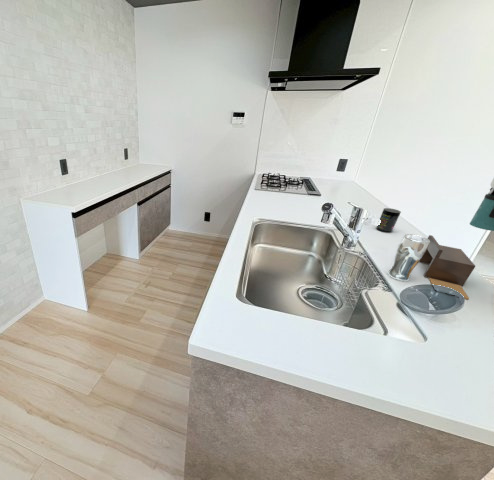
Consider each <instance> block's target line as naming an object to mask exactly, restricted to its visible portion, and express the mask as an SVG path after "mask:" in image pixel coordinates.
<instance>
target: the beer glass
mask: <svg viewBox="0 0 494 480" xmlns="http://www.w3.org/2000/svg"><path fill="white" fill-rule="evenodd" d="M429 243H430V240H428V237H427V238H426V237H424V236H423V235H422V236H421V235H417V234H412V233H407V234H405V233H404V235H403V236H402V239H401V240H400V242H399V243H398V246H397V248H396V252H395V256H394V260H393V264H392V266H391V267H390V269H389V270H388V271H387V275H388V276H389V277H391V278H392V279H394V280H396V281H401V282H409V281H410V279H411V275H412V273H413V271H414V269H415V268H416V266H417V265H418V264H419V263H421V262H420V260H421V259H422V258H423V256H424V254H425V252H426V250H427V248H428V245H429Z"/></svg>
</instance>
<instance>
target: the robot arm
mask: <svg viewBox="0 0 494 480" xmlns="http://www.w3.org/2000/svg"><path fill="white" fill-rule="evenodd" d="M487 194H494V177H493V178H492V180H491V182H490V188H489V191H488V193H487ZM489 217H491V218H494V208H493V210H492V211H491V213H490V215H489Z"/></svg>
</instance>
